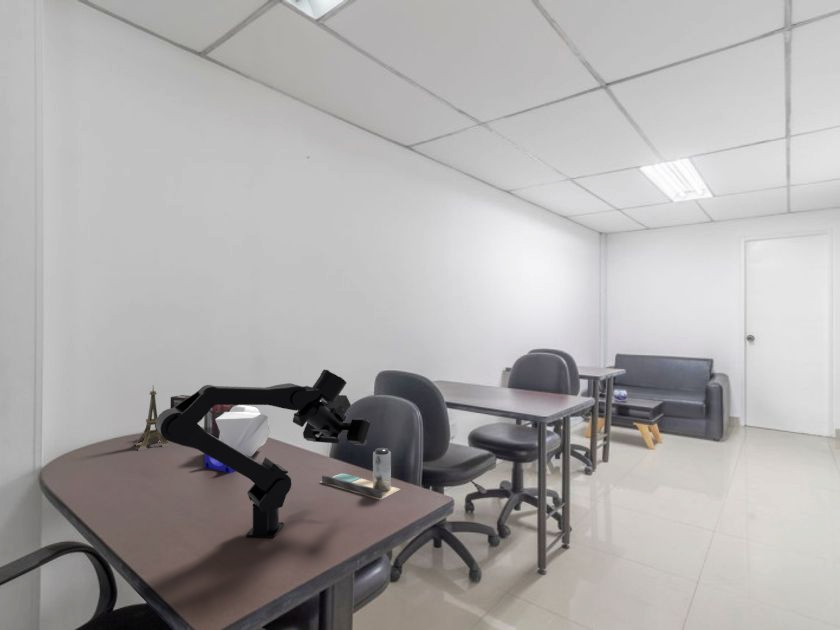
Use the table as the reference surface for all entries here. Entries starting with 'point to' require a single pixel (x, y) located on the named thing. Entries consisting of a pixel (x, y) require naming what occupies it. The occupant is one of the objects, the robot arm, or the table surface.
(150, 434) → the eiffel tower
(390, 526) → the table surface
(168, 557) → the table surface
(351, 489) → the rail board
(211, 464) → the cable clip
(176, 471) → the table surface
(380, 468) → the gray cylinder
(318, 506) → the table surface
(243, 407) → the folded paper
